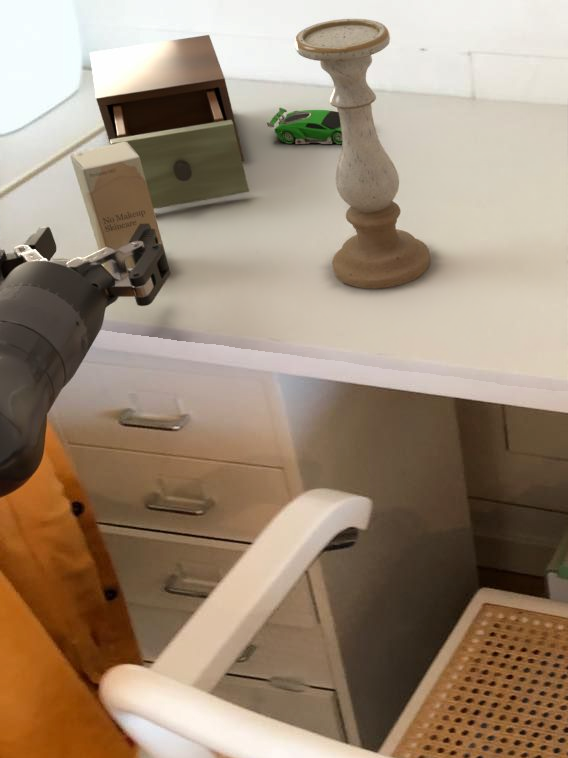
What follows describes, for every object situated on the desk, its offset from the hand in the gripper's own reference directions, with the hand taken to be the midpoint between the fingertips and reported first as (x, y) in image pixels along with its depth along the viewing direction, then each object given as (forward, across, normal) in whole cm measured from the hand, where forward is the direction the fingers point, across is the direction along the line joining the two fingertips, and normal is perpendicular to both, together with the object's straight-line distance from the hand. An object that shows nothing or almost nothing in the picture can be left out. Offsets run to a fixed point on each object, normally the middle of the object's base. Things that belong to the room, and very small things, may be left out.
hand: (98, 235), depth 110 cm
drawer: (+24, 0, +6) cm, 25 cm away
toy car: (+36, -12, +7) cm, 39 cm away
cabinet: (+35, +4, +6) cm, 36 cm away
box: (+6, 0, +7) cm, 9 cm away
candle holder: (+5, -22, +7) cm, 24 cm away
